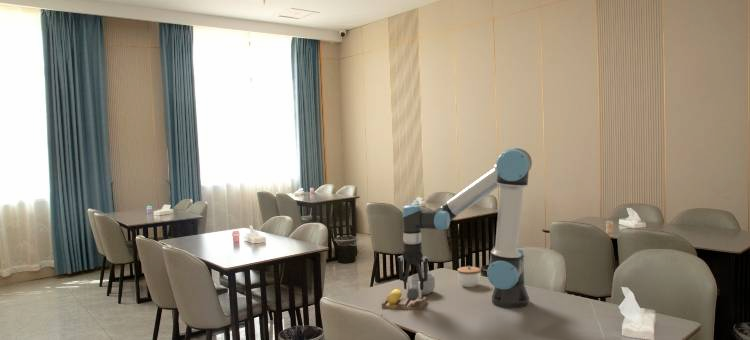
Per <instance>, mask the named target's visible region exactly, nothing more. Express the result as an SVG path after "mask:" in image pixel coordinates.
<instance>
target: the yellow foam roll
mask: <svg viewBox="0 0 750 340" xmlns="http://www.w3.org/2000/svg"><path fill="white" fill-rule="evenodd" d="M402 295H403V294H402V291H401V290H400V289H398V288H395V289H392V291H391V292H390V293H389V294H388V295H387V296H388V297H387V296H386V297H387V301H388V303H389V304H391V305H394V304H396V302H397V301H398V300H399V299H400V298H402V297H403V296H402Z"/></svg>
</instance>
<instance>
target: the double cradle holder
mask: <svg viewBox="0 0 750 340" xmlns="http://www.w3.org/2000/svg"><path fill="white" fill-rule="evenodd" d="M388 296H389V295H387V296H386V297H385V299H384V300H383V301H382V302H381V309H394V310H395V309H396V310H414V311H415V310H417V311H418V310H419V311H421V310H423V309H424V307H425V305H426V303H427V296H423V298H417V299H416V300H414V301H411V300H409V299H408V298H407V295H404V296H402V297H401V298H400V299H399V300H398V301H397V302H396V304H394V305H391V304H389V303H388V301H387V297H388Z"/></svg>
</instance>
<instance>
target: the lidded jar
mask: <svg viewBox="0 0 750 340" xmlns="http://www.w3.org/2000/svg"><path fill="white" fill-rule="evenodd" d="M457 278H458V280H459V283H460V284H462V286H463V287H464V288H465V287H466V288H474V287H476V286H477V285H478V284H479V282H480V280H481V268H480V267H477V266H471V265H467V266H461V267H459V268H457Z"/></svg>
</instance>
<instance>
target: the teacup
mask: <svg viewBox="0 0 750 340" xmlns="http://www.w3.org/2000/svg"><path fill="white" fill-rule="evenodd" d="M422 275H423V278H424V272H422ZM419 281H420V280H419V276H418V272H417V273H414V274H412V275H411V276H410V282H411V287H412V286H413V285H418V282H419ZM435 281H436V280H435V274H433V273H432V272H431V273H429V272H428V279H427V281H425V282H423V283H424V288H423V290H421V296H422V295H423V296H424V295H430V294H431V293H432V292H433V291H434V290H435V287H436V285H435V284H436V283H435Z"/></svg>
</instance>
